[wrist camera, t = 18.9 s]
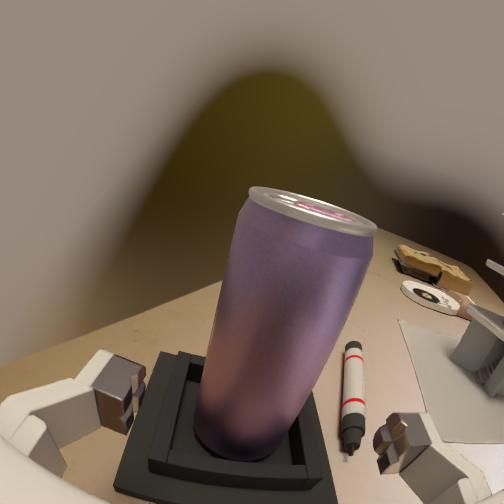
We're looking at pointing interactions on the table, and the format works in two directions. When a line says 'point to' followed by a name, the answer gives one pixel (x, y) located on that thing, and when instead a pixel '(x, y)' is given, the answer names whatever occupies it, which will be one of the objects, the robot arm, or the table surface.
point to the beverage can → (277, 317)
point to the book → (433, 270)
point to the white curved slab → (438, 299)
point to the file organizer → (463, 375)
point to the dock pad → (209, 463)
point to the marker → (353, 398)
